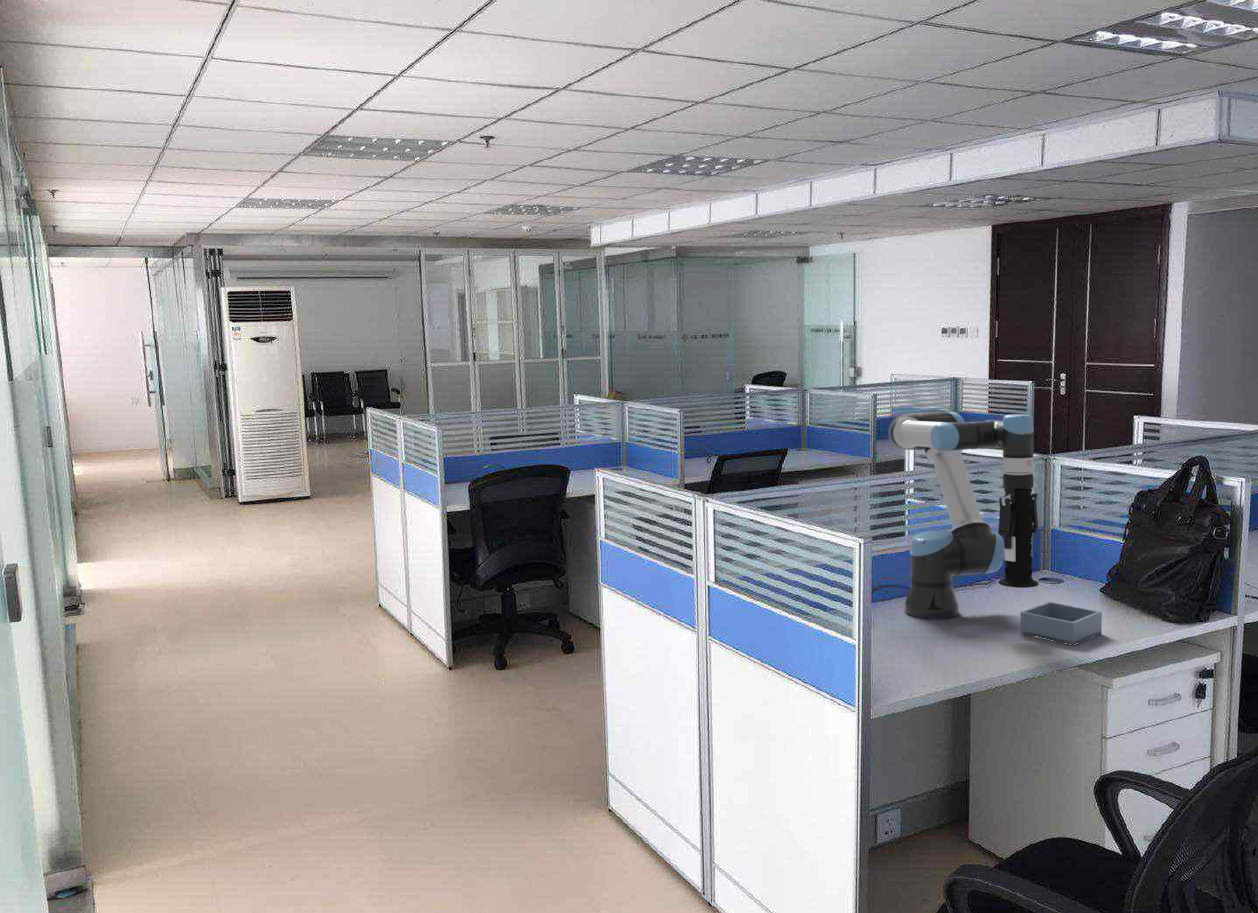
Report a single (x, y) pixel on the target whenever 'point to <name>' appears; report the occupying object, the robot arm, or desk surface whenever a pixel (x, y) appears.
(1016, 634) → the desk surface
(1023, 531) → the handle grip
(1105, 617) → the desk surface
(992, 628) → the desk surface
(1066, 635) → the box
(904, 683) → the desk surface
